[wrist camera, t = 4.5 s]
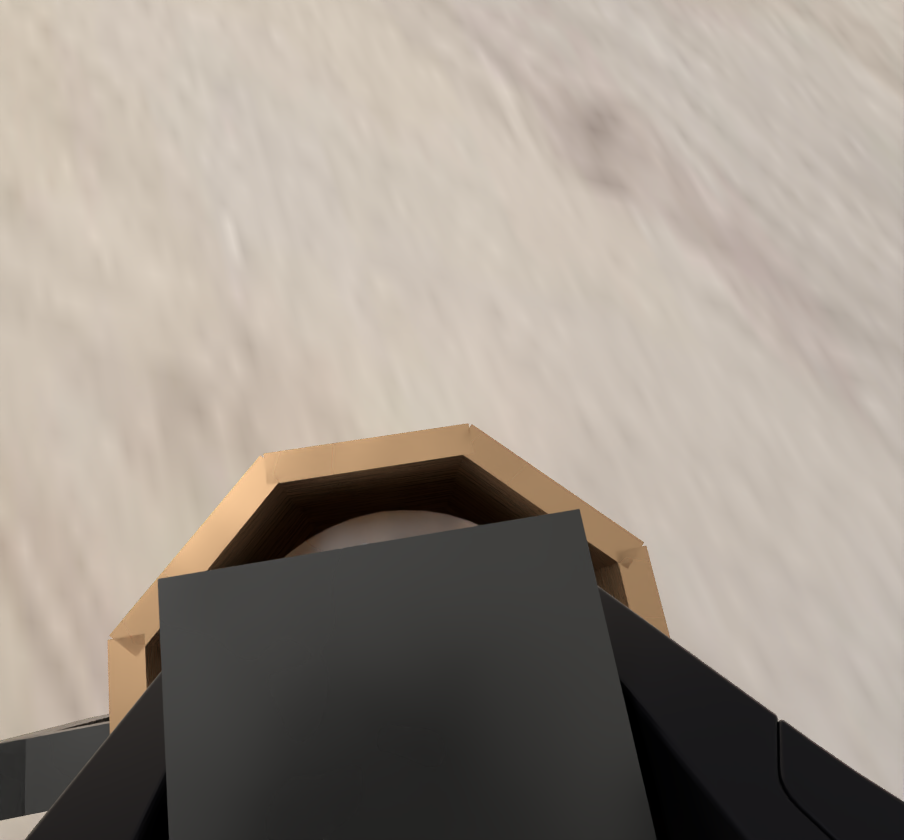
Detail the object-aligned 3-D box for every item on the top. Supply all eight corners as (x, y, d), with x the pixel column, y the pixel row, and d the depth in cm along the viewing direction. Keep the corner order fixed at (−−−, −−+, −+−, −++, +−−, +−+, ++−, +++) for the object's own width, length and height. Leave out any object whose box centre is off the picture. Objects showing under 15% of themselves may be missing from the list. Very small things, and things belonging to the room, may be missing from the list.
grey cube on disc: (627, 866, 13) (948, 1193, 5) (232, 957, 12) (-64, 1507, 4) (544, 490, 15) (687, 339, 7) (205, 545, 14) (-23, 437, 6)
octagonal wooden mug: (618, 842, 18) (765, 981, 11) (116, 956, 16) (-114, 1208, 9) (539, 481, 21) (612, 396, 13) (107, 551, 19) (-74, 498, 12)
